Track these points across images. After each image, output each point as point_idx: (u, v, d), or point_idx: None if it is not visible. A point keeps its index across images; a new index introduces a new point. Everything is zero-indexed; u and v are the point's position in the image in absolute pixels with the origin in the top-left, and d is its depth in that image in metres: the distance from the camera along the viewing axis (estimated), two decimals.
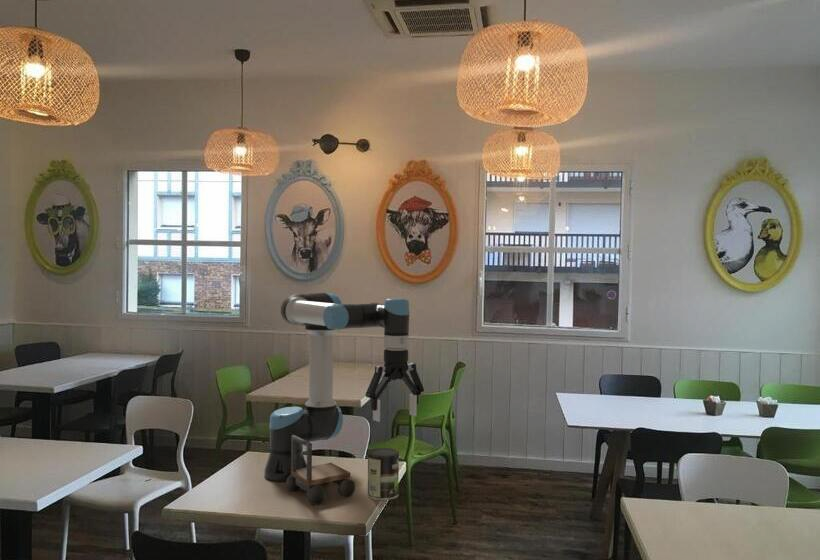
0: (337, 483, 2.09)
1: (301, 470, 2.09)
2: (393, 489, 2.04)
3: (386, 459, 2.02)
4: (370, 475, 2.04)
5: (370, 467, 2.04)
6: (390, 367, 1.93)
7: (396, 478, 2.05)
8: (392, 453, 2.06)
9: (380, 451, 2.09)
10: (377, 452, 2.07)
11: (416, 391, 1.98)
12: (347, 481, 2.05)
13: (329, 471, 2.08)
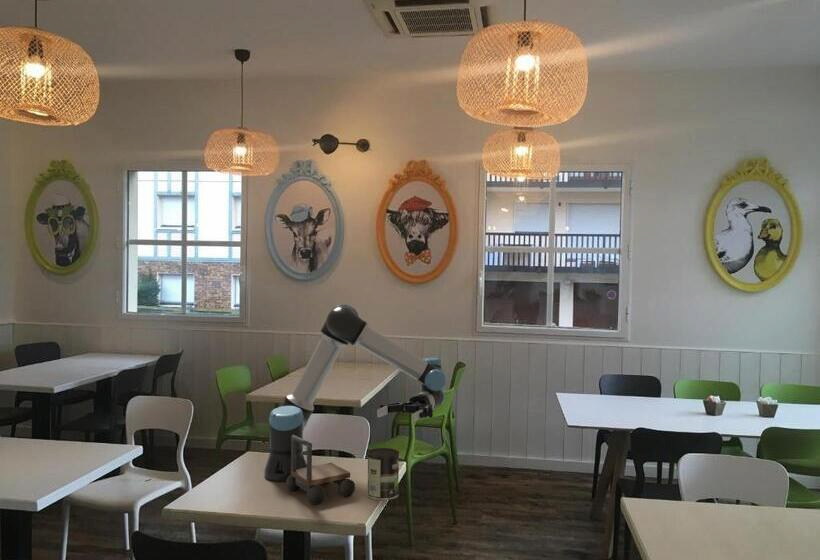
0: (337, 483, 2.09)
1: (301, 470, 2.09)
2: (393, 489, 2.04)
3: (386, 459, 2.02)
4: (370, 475, 2.04)
5: (370, 467, 2.04)
6: None
7: (396, 478, 2.05)
8: (392, 453, 2.06)
9: (380, 451, 2.09)
10: (377, 452, 2.07)
11: None
12: (347, 481, 2.05)
13: (329, 471, 2.08)
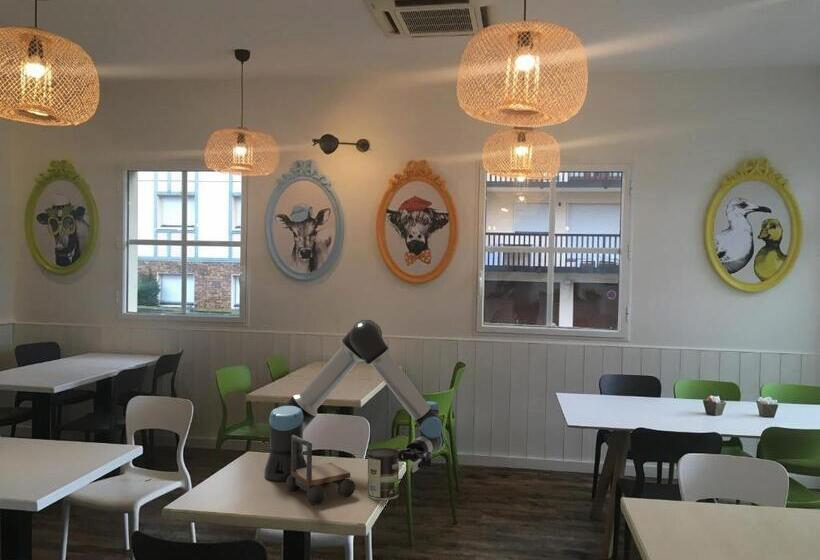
0: (337, 483, 2.09)
1: (301, 470, 2.09)
2: (393, 489, 2.04)
3: (386, 459, 2.02)
4: (370, 475, 2.04)
5: (370, 467, 2.04)
6: None
7: (396, 478, 2.05)
8: (392, 453, 2.06)
9: (380, 451, 2.09)
10: (377, 452, 2.07)
11: None
12: (347, 481, 2.05)
13: (329, 471, 2.08)
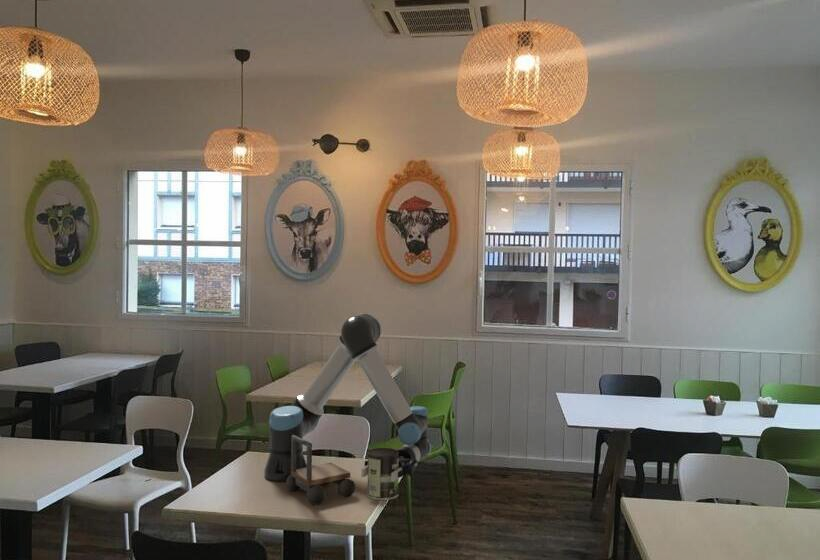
0: (337, 483, 2.09)
1: (301, 470, 2.09)
2: (393, 489, 2.04)
3: (386, 459, 2.02)
4: (370, 475, 2.04)
5: (370, 467, 2.04)
6: None
7: None
8: (392, 453, 2.06)
9: (380, 451, 2.09)
10: (377, 452, 2.07)
11: None
12: (347, 481, 2.05)
13: (329, 471, 2.08)
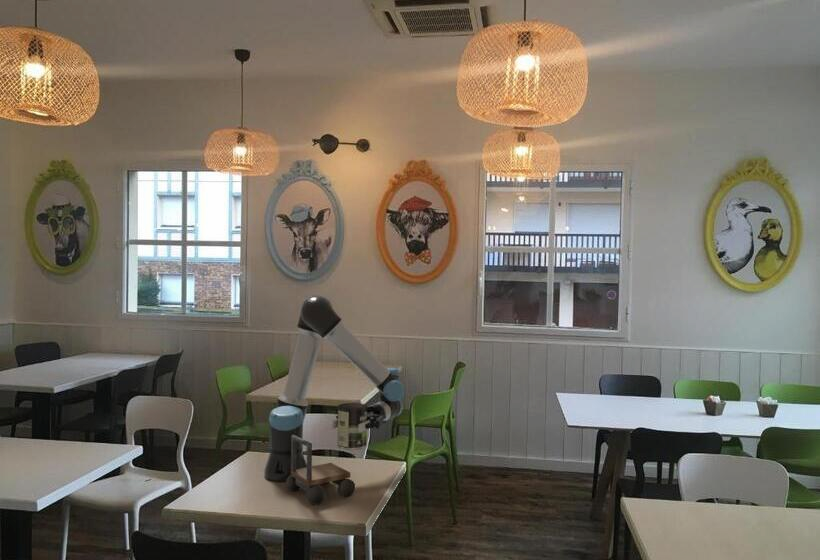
0: (337, 483, 2.09)
1: (301, 470, 2.09)
2: (361, 440, 2.17)
3: (353, 411, 2.16)
4: (339, 426, 2.18)
5: (339, 419, 2.18)
6: None
7: None
8: (360, 406, 2.20)
9: (350, 405, 2.22)
10: (346, 406, 2.21)
11: None
12: (347, 481, 2.05)
13: (329, 471, 2.08)
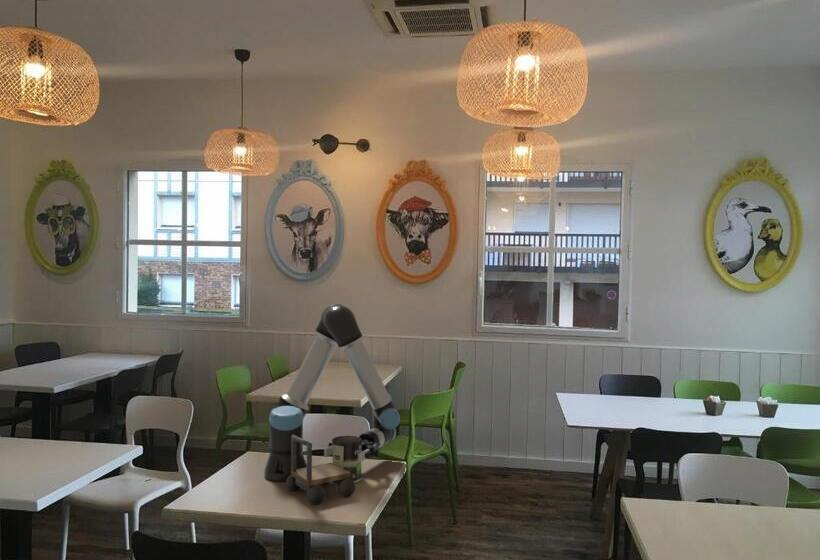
0: (337, 483, 2.09)
1: (301, 470, 2.09)
2: (355, 473, 2.20)
3: (348, 445, 2.18)
4: (334, 460, 2.20)
5: (334, 453, 2.20)
6: None
7: (358, 463, 2.21)
8: (355, 440, 2.22)
9: (344, 438, 2.24)
10: (341, 439, 2.23)
11: None
12: (347, 481, 2.05)
13: (329, 471, 2.08)
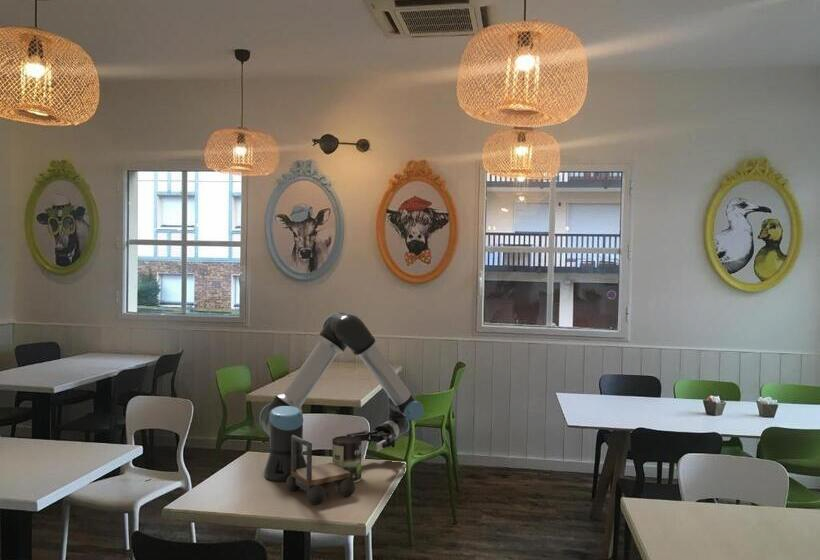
0: (337, 483, 2.09)
1: (301, 470, 2.09)
2: (355, 473, 2.20)
3: (348, 445, 2.18)
4: (334, 460, 2.20)
5: (334, 453, 2.20)
6: None
7: (358, 463, 2.21)
8: (355, 440, 2.22)
9: (344, 438, 2.24)
10: (341, 439, 2.23)
11: None
12: (347, 481, 2.05)
13: (329, 471, 2.08)
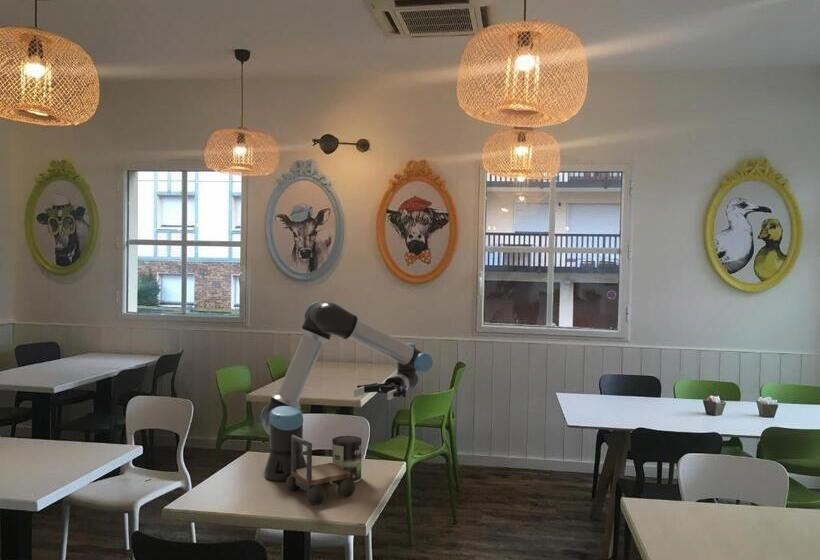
0: (337, 483, 2.09)
1: (301, 470, 2.09)
2: (355, 473, 2.20)
3: (348, 445, 2.18)
4: (334, 460, 2.20)
5: (334, 453, 2.20)
6: None
7: (358, 463, 2.21)
8: (355, 440, 2.22)
9: (344, 438, 2.24)
10: (341, 439, 2.23)
11: (364, 392, 2.42)
12: (347, 481, 2.05)
13: (329, 471, 2.08)
